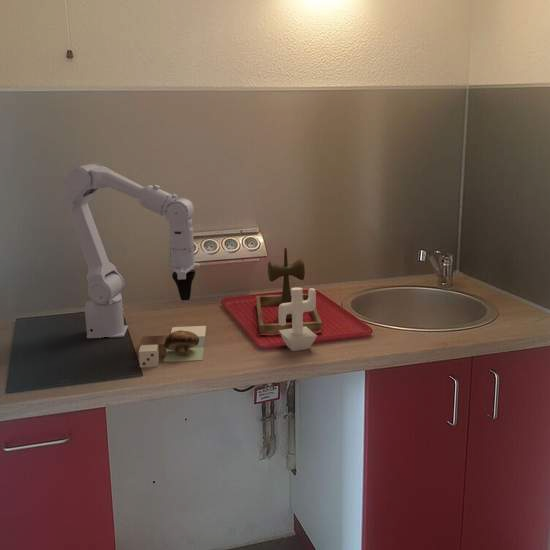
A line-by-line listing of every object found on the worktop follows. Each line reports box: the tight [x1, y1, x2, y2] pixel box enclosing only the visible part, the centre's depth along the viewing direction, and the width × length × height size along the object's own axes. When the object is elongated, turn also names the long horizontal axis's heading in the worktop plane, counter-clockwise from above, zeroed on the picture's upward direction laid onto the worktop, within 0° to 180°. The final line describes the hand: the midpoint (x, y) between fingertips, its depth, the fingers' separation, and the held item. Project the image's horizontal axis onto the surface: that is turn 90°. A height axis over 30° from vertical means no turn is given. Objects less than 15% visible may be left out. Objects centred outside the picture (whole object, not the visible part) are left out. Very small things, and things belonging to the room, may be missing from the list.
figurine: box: [277, 287, 318, 352], centre depth 166 cm, size 7×9×15 cm
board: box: [163, 325, 207, 363], centre depth 172 cm, size 9×24×1 cm, turn 3°
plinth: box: [138, 335, 168, 357], centre depth 167 cm, size 6×6×3 cm
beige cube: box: [138, 345, 160, 368], centre depth 160 cm, size 4×4×4 cm
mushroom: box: [165, 330, 199, 355], centre depth 165 cm, size 8×8×6 cm
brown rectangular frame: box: [255, 293, 323, 335], centre depth 189 cm, size 16×26×3 cm, turn 3°
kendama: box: [267, 247, 306, 321], centre depth 187 cm, size 6×10×20 cm, turn 100°
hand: (185, 299), depth 175 cm, fingers closed
